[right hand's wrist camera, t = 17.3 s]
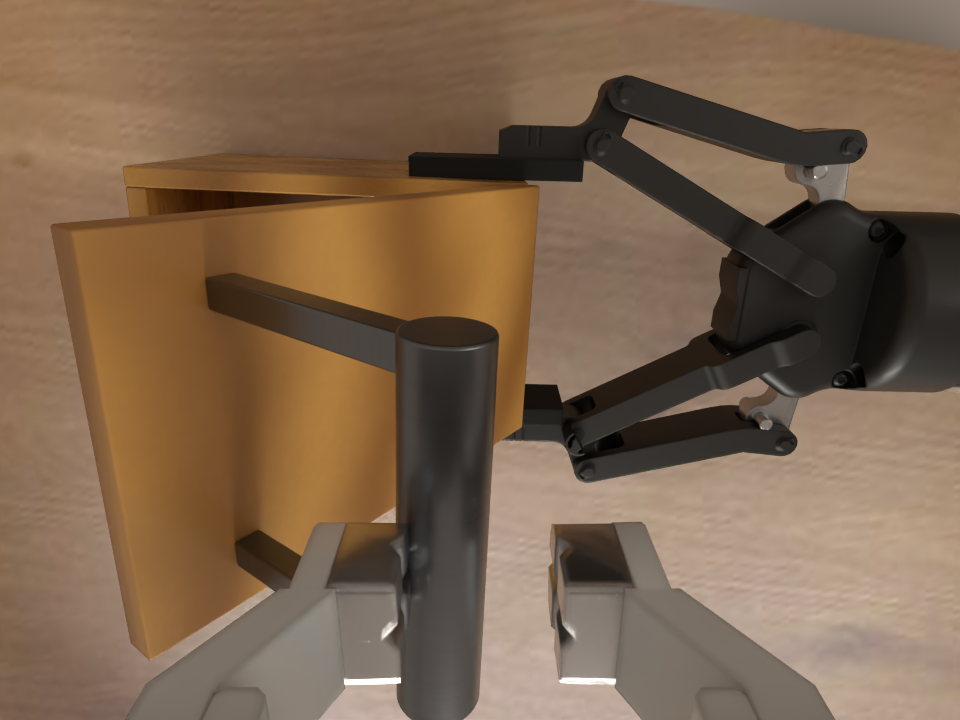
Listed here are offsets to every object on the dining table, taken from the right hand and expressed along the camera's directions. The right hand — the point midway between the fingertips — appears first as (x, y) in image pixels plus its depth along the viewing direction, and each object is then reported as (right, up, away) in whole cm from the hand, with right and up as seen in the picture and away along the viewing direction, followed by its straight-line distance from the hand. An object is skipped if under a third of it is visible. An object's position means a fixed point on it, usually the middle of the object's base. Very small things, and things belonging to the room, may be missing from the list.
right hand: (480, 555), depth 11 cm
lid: (-3, +3, +8) cm, 9 cm away
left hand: (-3, +6, +16) cm, 17 cm away
